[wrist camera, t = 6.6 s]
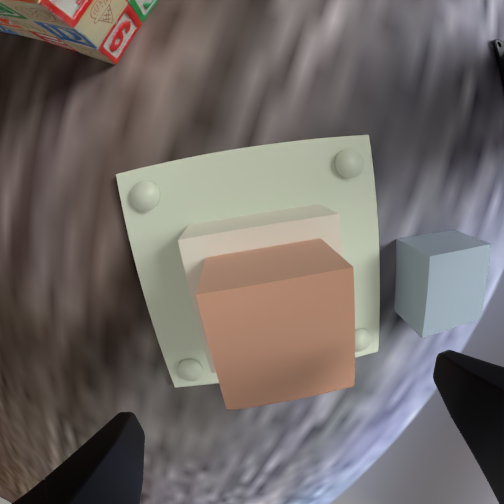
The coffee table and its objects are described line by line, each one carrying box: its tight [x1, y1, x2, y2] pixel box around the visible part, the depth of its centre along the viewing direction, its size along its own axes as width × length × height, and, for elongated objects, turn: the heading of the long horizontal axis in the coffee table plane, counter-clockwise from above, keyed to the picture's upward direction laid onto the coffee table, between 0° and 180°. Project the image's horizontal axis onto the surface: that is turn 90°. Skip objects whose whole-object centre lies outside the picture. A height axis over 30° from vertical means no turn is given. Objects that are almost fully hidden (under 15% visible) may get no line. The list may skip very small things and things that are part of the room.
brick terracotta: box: [196, 238, 355, 410], centre depth 12 cm, size 5×5×4 cm
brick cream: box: [178, 204, 343, 373], centre depth 16 cm, size 7×7×4 cm
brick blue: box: [394, 230, 491, 338], centre depth 17 cm, size 5×5×4 cm
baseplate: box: [116, 135, 380, 387], centre depth 18 cm, size 14×14×1 cm
